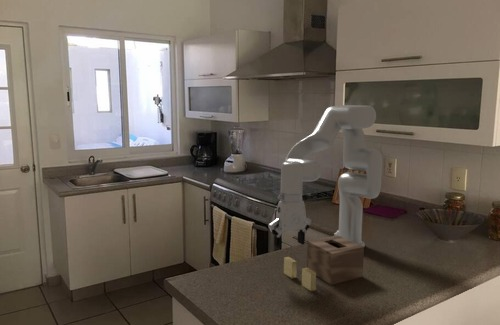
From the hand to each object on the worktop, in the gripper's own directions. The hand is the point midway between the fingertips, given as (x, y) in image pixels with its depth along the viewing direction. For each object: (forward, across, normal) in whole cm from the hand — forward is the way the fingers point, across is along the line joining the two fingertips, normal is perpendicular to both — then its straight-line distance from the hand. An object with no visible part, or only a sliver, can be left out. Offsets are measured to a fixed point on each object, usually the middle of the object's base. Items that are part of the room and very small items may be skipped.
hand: (289, 245), depth 146 cm
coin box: (+11, +16, -6) cm, 20 cm away
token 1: (+11, +1, 0) cm, 11 cm away
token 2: (+11, +1, -11) cm, 16 cm away
